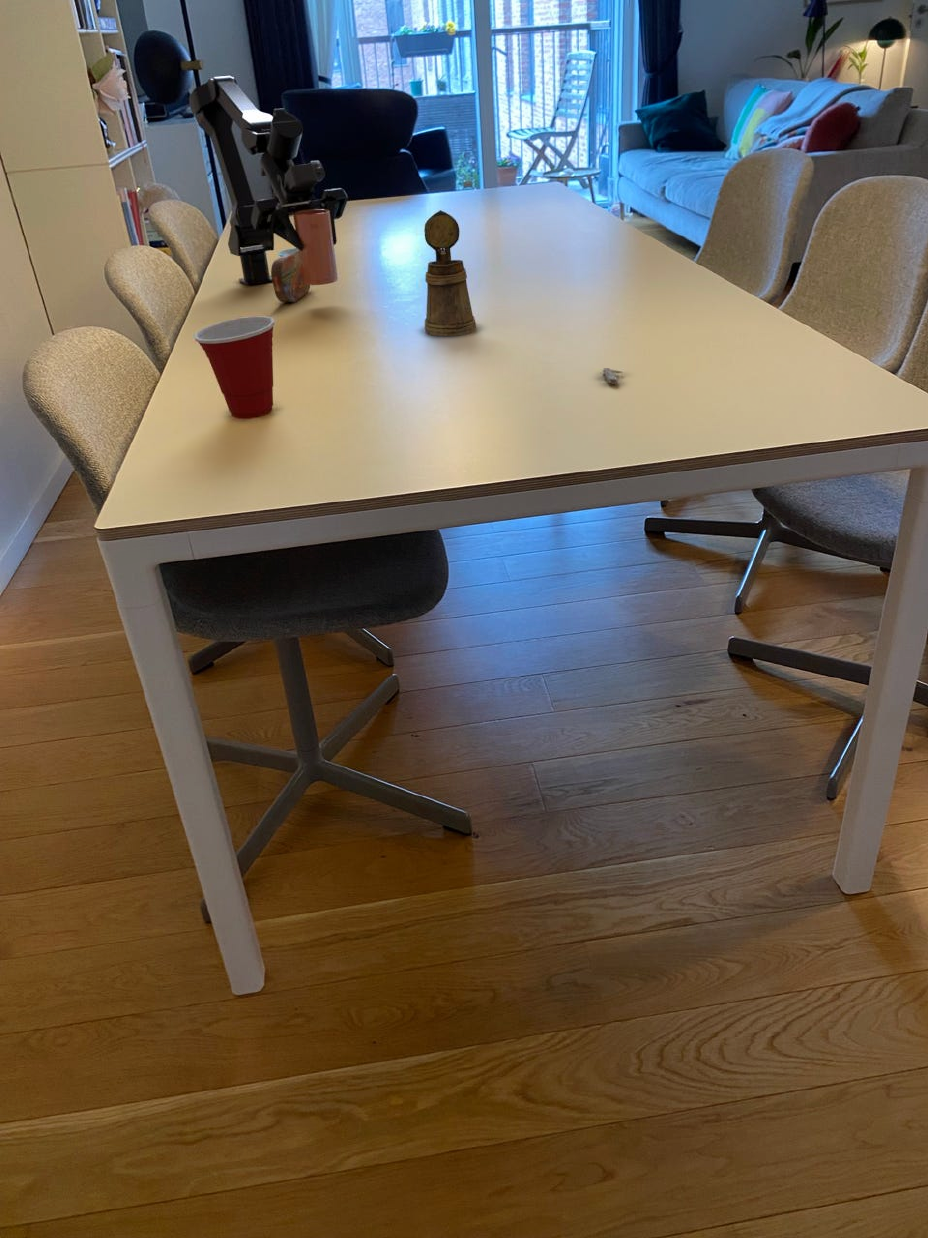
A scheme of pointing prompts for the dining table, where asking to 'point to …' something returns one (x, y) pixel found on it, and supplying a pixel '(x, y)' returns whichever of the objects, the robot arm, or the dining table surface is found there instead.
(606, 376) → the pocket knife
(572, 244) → the dining table surface
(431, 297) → the wooden mug
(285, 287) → the tin
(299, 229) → the pot
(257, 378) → the plastic cup
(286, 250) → the saucer
